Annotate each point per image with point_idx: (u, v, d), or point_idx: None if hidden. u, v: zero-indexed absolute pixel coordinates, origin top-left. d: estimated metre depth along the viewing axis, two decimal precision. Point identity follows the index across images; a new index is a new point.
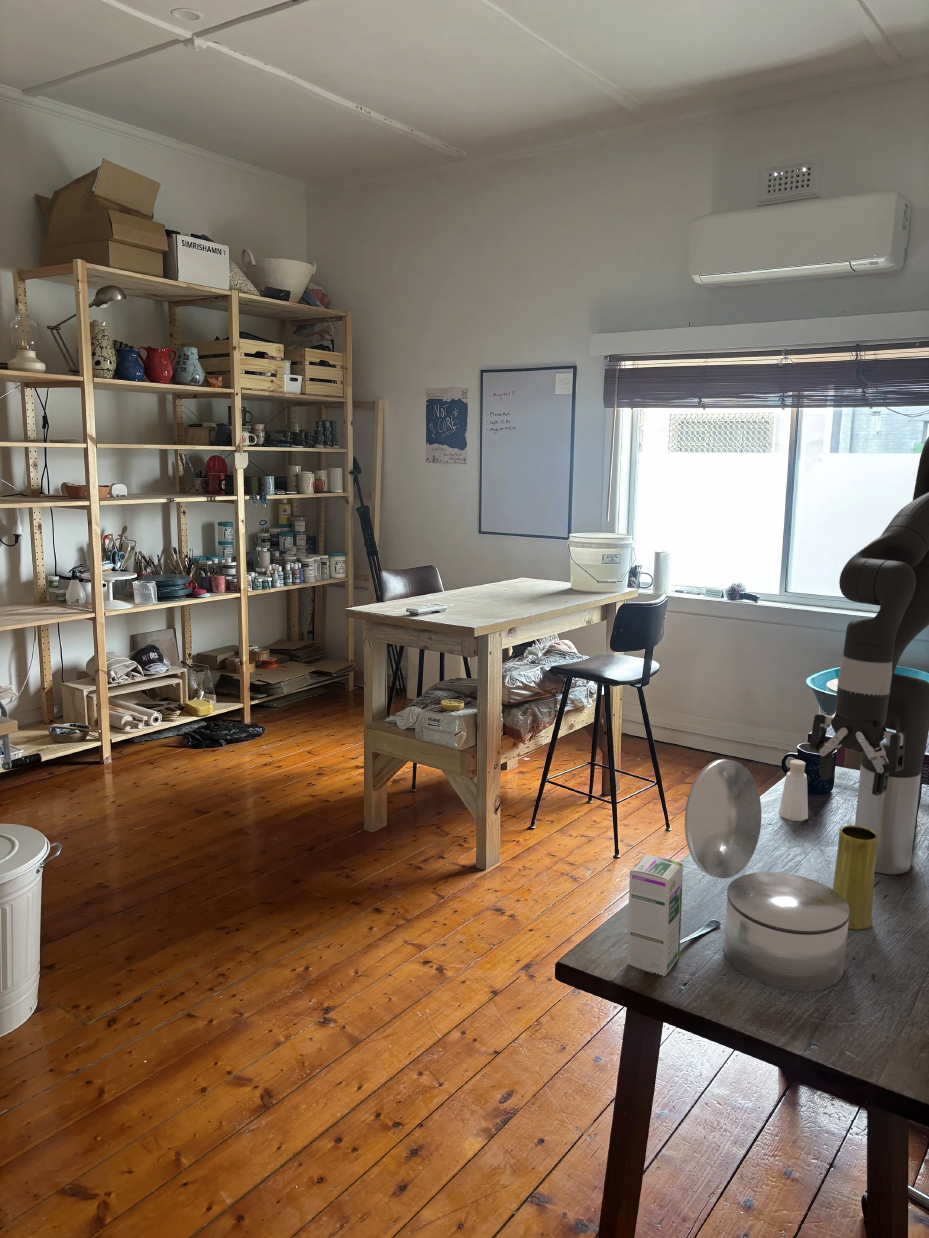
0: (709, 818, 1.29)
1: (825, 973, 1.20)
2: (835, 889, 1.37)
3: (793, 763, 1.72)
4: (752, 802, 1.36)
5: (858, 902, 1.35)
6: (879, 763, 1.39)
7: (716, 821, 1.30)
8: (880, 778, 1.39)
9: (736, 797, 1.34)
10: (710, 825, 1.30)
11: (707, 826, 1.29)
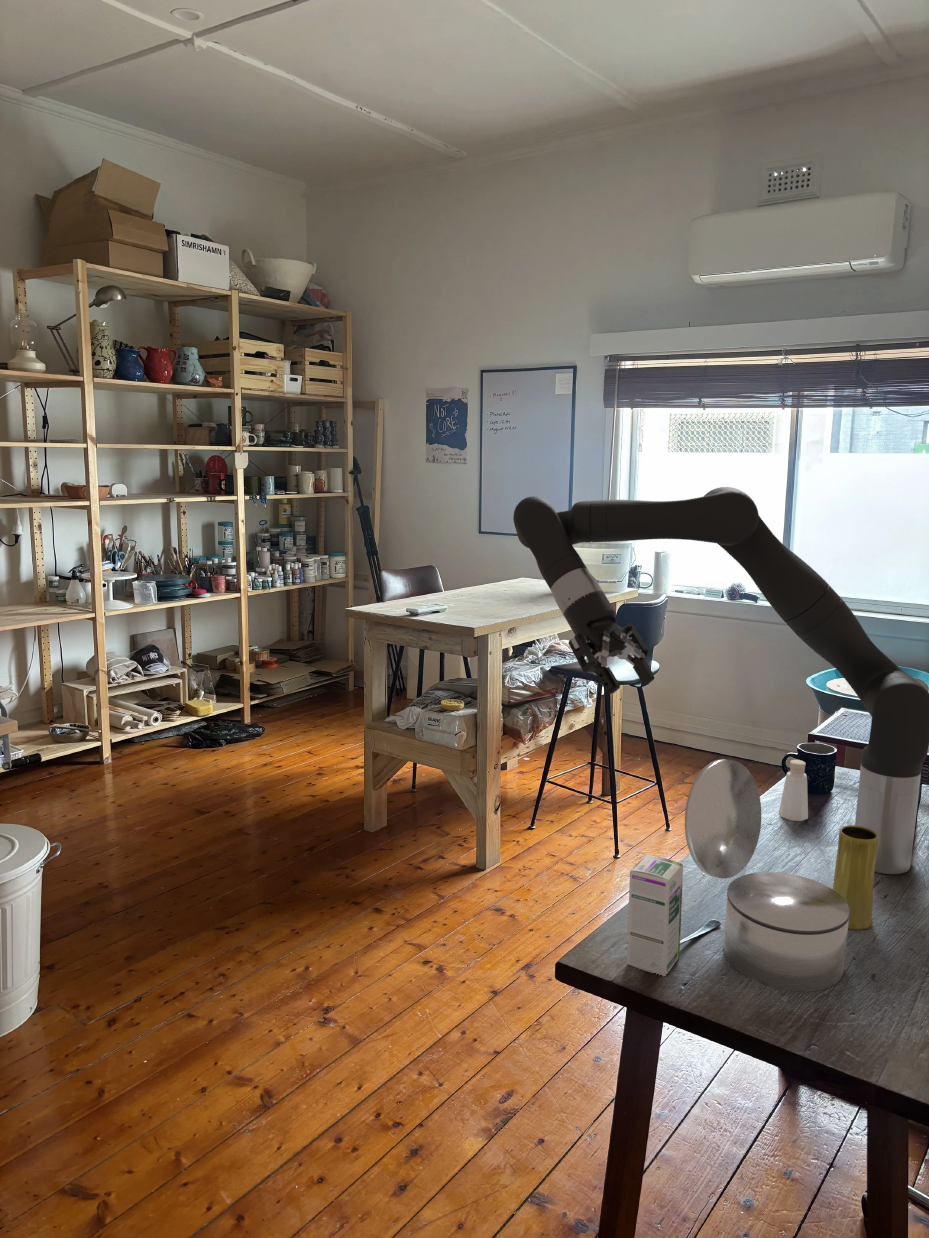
0: (709, 818, 1.29)
1: (825, 973, 1.20)
2: (835, 889, 1.37)
3: (793, 763, 1.72)
4: (752, 802, 1.36)
5: (858, 902, 1.35)
6: None
7: (716, 821, 1.30)
8: None
9: (736, 797, 1.34)
10: (710, 825, 1.30)
11: (707, 826, 1.29)
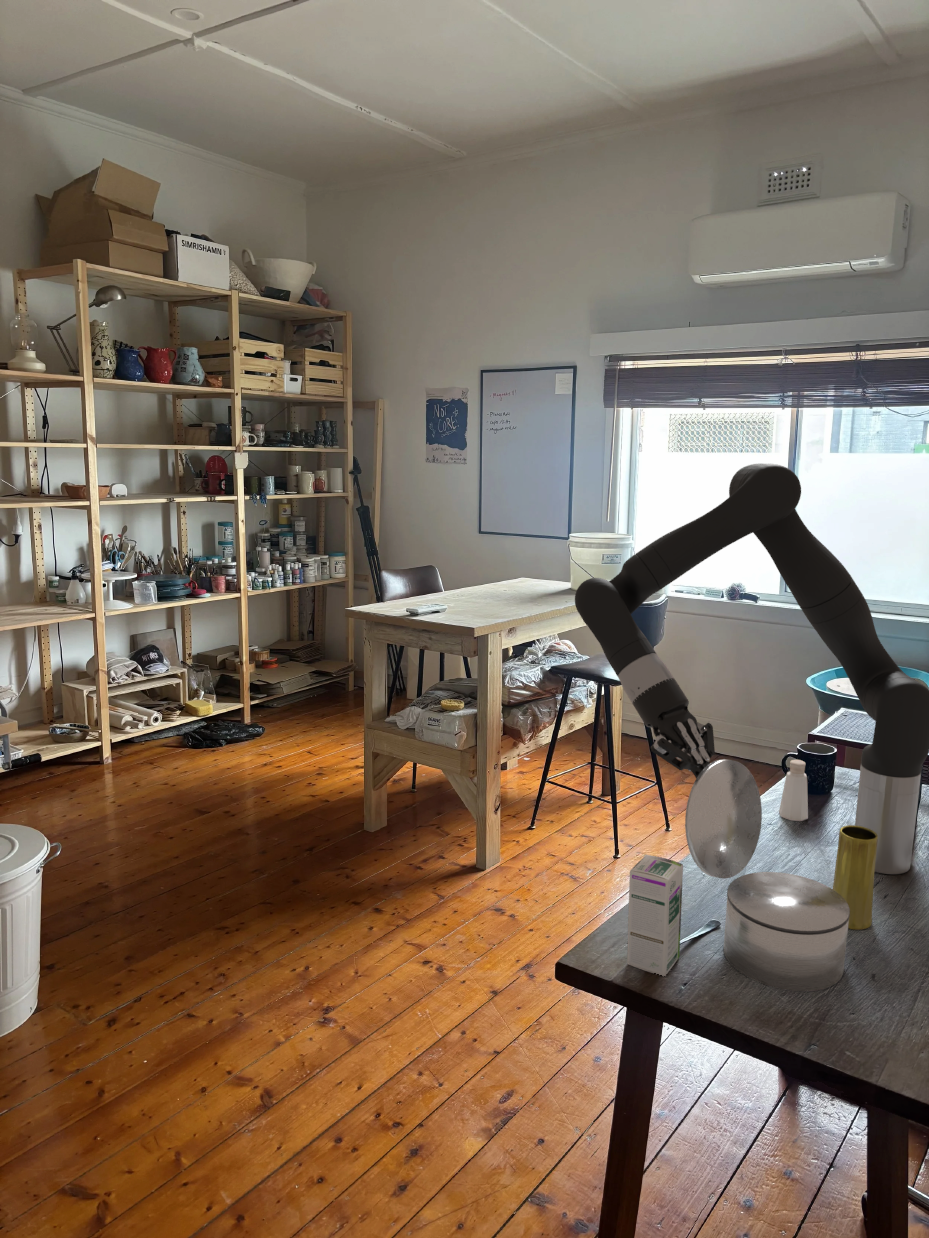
0: (710, 818, 1.29)
1: (825, 973, 1.20)
2: (835, 889, 1.37)
3: (793, 763, 1.72)
4: (752, 802, 1.36)
5: (858, 902, 1.35)
6: None
7: (716, 821, 1.30)
8: None
9: (736, 797, 1.34)
10: (710, 825, 1.29)
11: (707, 826, 1.29)
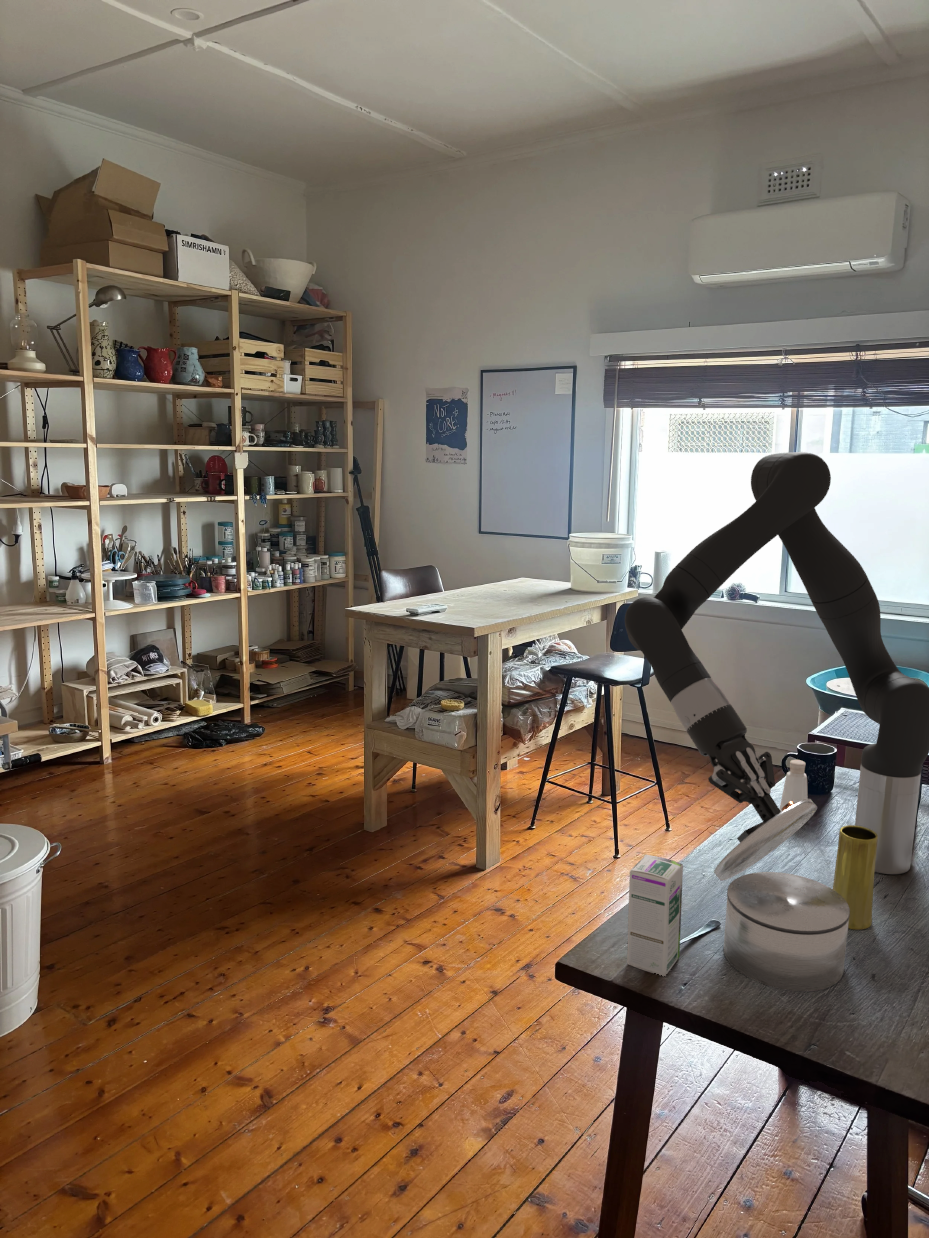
0: (756, 847, 1.24)
1: (825, 973, 1.20)
2: (835, 889, 1.37)
3: (793, 763, 1.72)
4: (796, 828, 1.31)
5: (858, 902, 1.35)
6: None
7: (758, 848, 1.26)
8: None
9: (789, 828, 1.27)
10: (751, 852, 1.25)
11: (749, 853, 1.24)
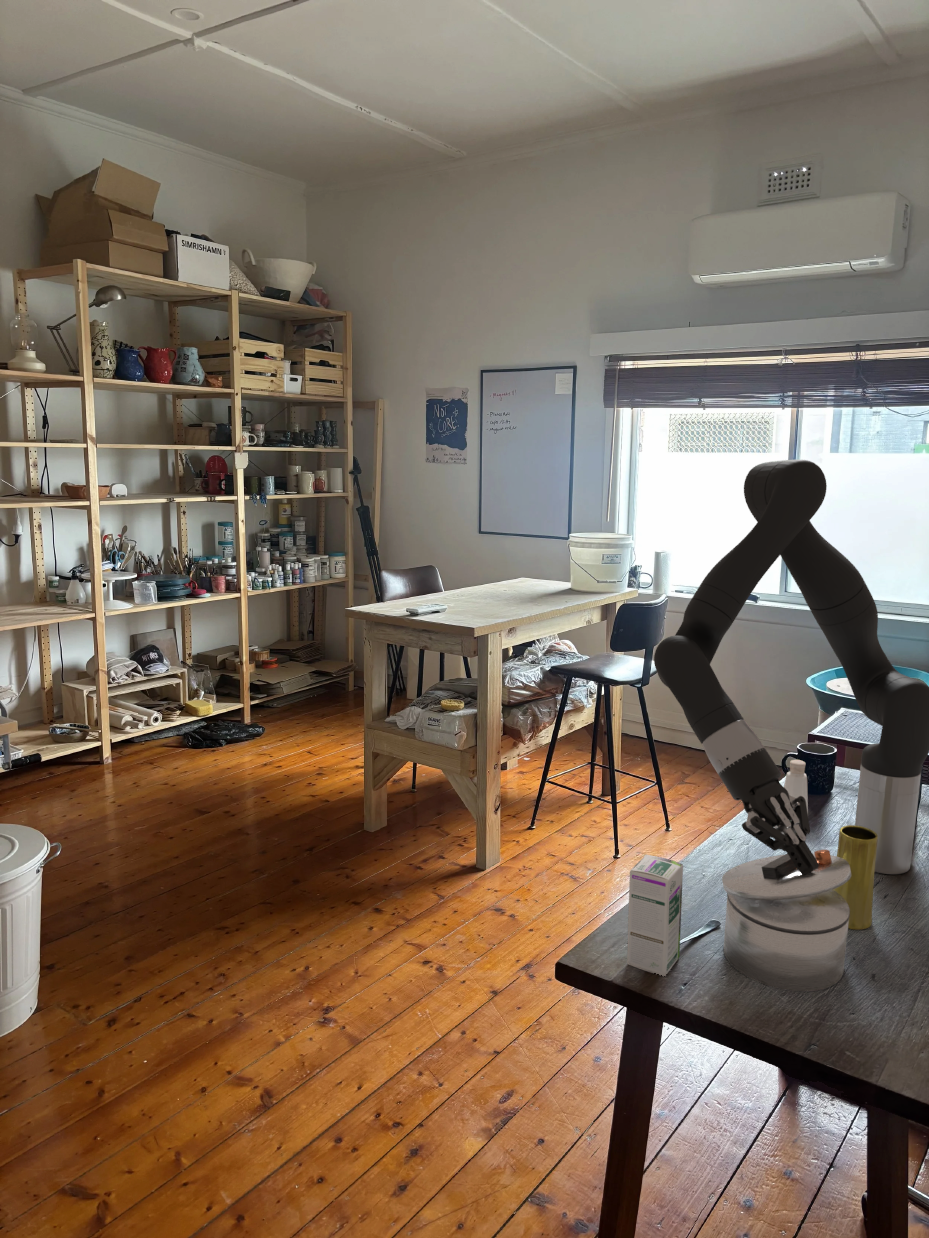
0: None
1: (825, 973, 1.20)
2: (835, 889, 1.37)
3: (793, 763, 1.72)
4: None
5: (858, 902, 1.35)
6: None
7: None
8: None
9: None
10: None
11: None
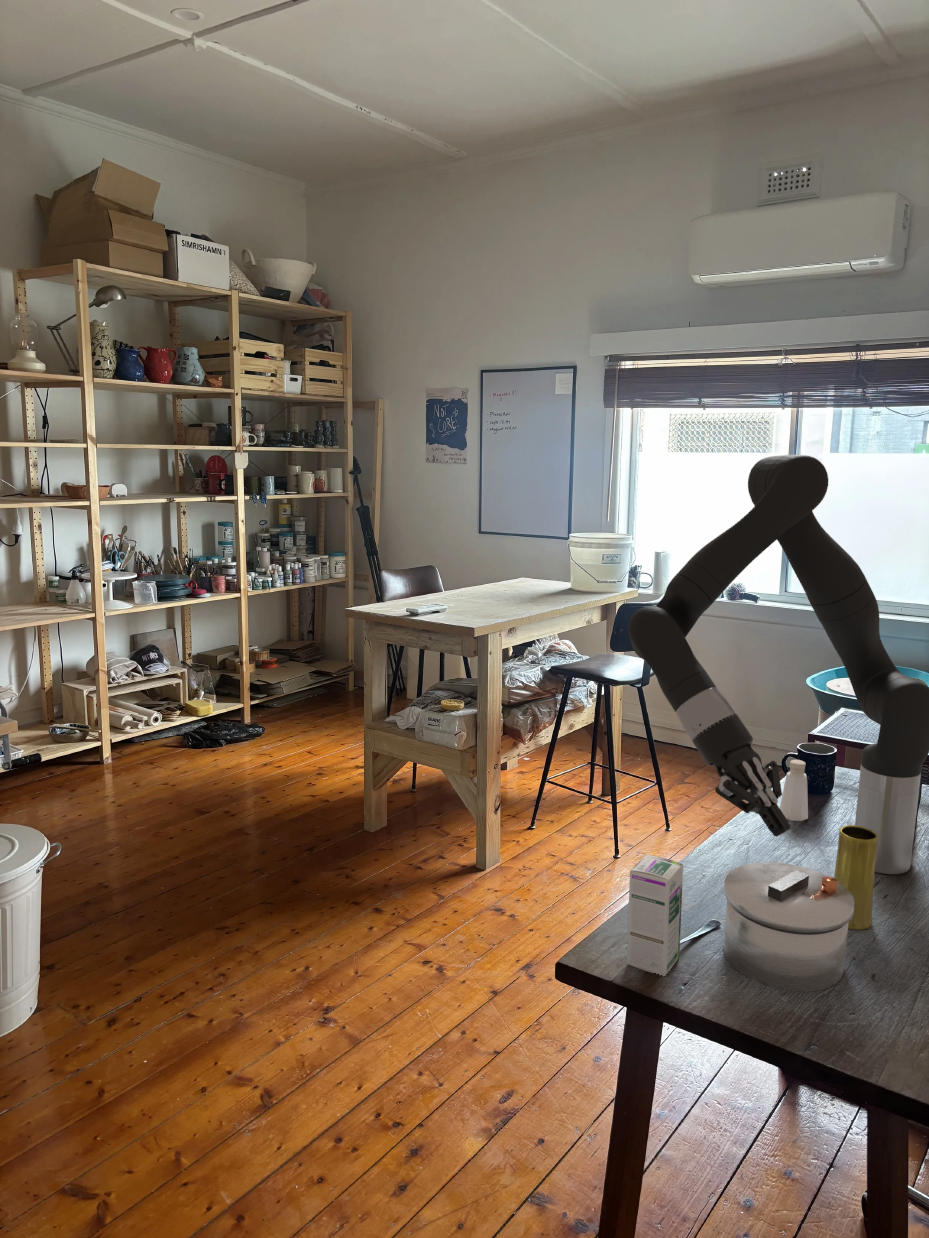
0: None
1: (825, 973, 1.20)
2: None
3: (793, 763, 1.72)
4: None
5: (858, 902, 1.35)
6: None
7: None
8: None
9: None
10: None
11: None
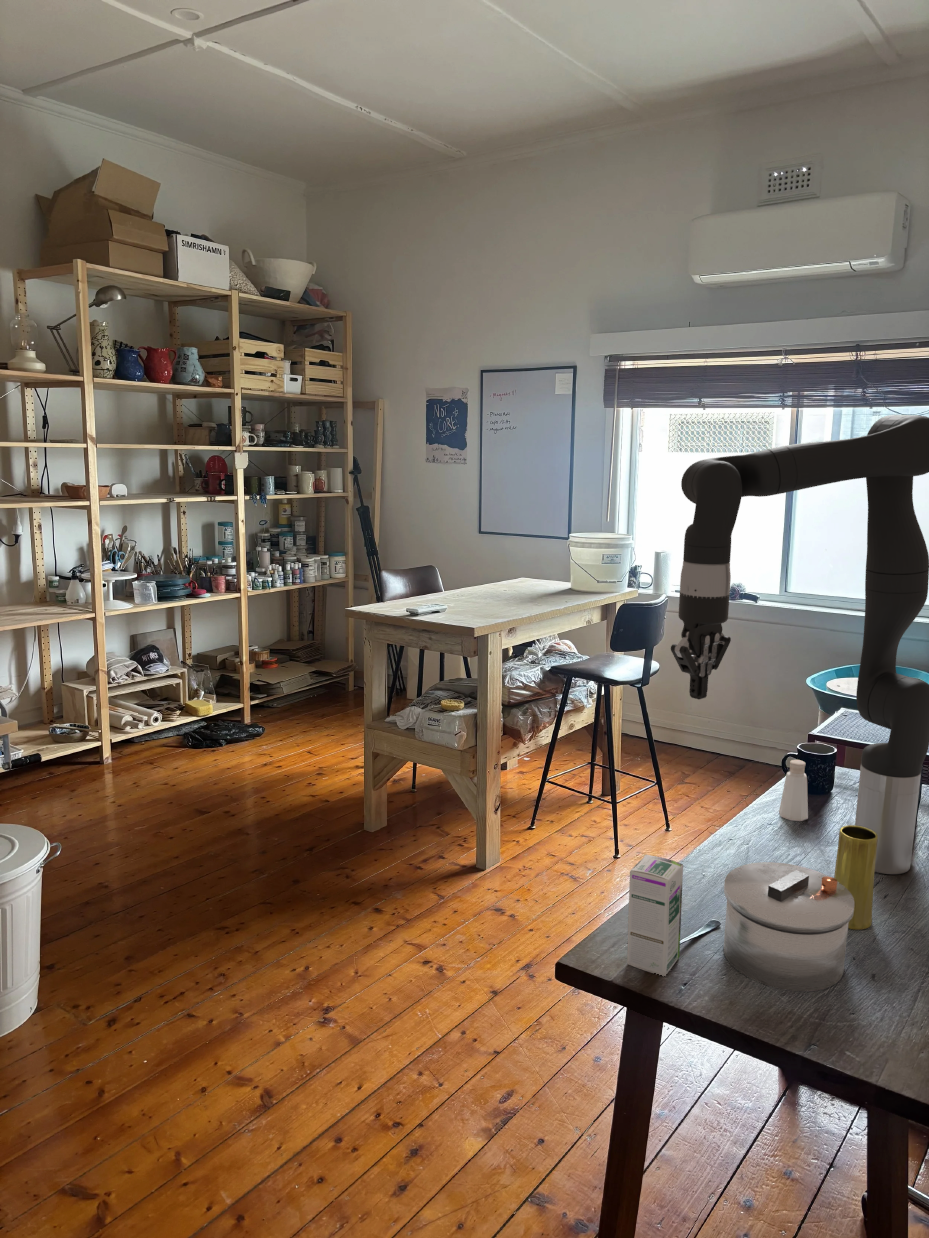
0: None
1: (825, 973, 1.20)
2: None
3: (793, 763, 1.72)
4: None
5: (858, 902, 1.35)
6: None
7: None
8: None
9: None
10: None
11: None
